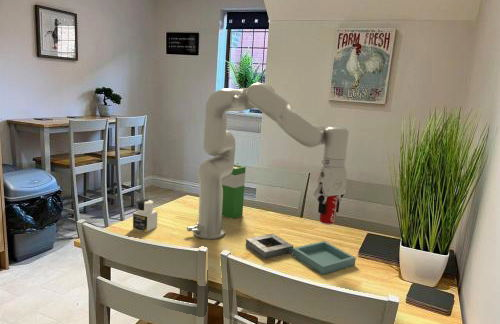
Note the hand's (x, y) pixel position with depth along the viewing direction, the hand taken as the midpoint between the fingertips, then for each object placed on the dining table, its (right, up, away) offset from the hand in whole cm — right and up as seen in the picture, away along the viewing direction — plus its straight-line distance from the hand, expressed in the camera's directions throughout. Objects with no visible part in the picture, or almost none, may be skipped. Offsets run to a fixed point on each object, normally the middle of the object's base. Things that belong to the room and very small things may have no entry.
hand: (328, 211), depth 129 cm
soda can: (0, -4, +1) cm, 4 cm away
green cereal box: (-41, -7, +48) cm, 63 cm away
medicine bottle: (-72, -10, +23) cm, 76 cm away
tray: (-1, -18, +4) cm, 19 cm away
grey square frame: (-21, -16, +10) cm, 28 cm away
